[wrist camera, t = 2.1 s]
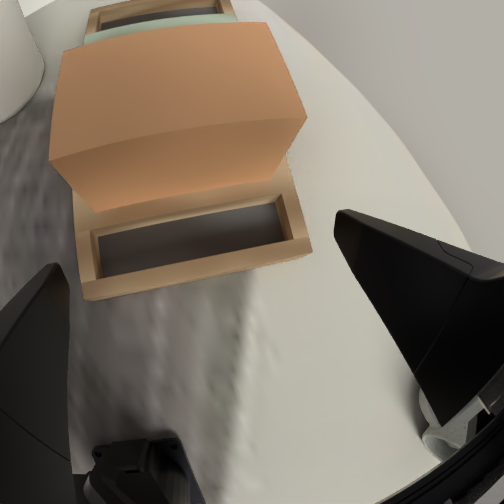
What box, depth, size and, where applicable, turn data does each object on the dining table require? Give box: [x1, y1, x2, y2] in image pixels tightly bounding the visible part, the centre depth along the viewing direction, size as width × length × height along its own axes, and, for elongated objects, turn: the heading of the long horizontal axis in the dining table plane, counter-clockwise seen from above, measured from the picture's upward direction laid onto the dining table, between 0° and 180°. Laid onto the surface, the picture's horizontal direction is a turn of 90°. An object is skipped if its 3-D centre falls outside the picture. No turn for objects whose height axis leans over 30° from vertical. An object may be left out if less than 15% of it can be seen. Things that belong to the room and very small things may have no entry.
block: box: [49, 22, 307, 213], centre depth 15 cm, size 7×11×7 cm, turn 104°
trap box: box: [72, 0, 313, 301], centre depth 20 cm, size 28×14×2 cm, turn 14°
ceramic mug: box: [419, 388, 484, 462], centre depth 17 cm, size 11×8×8 cm
